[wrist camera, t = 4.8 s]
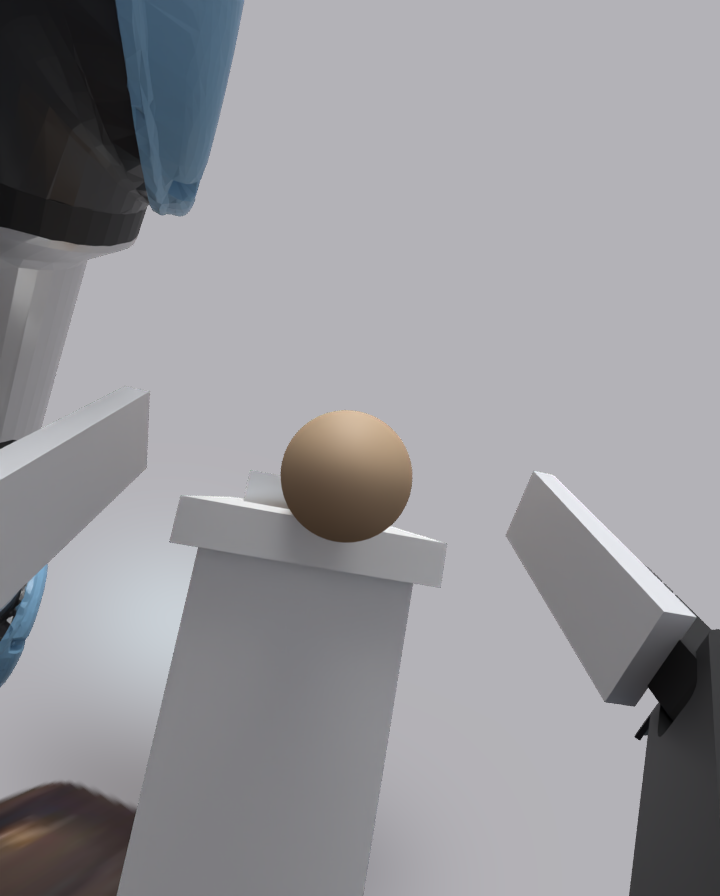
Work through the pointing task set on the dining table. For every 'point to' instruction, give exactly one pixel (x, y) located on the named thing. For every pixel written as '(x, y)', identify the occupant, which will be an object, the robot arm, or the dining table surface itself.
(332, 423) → the ball
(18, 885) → the dining table surface
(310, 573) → the plinth
